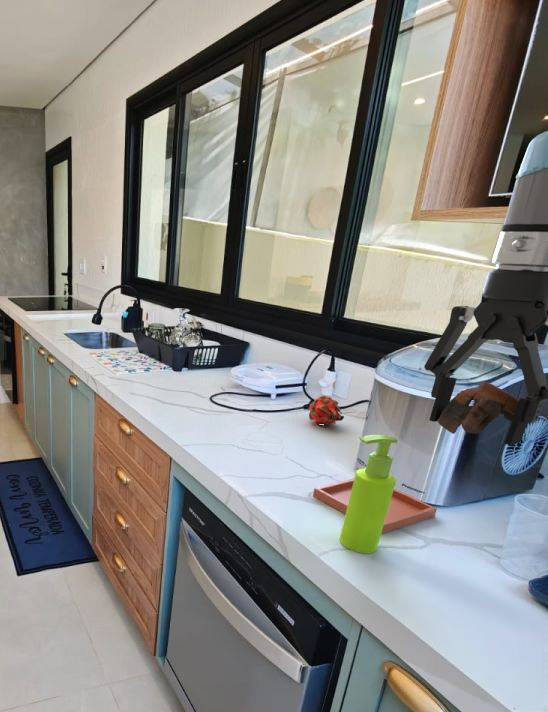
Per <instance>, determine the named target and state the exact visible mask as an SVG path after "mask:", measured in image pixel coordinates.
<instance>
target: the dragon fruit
mask: <svg viewBox="0 0 548 712" xmlns="http://www.w3.org/2000/svg"><path fill="white" fill-rule="evenodd" d="M308 410H309V413H308V418H309V420H310V421H314V422H315V423H316V424H317V425H318V424H325V425H326V424H327V425H331V426H332V425H334V424H336V423H337V422H340V421H343V420H344V418H345V416H344V415H342V414H343V412H342V411H341V407H340V406H339V402H338V401H337V400H335V399H333V398H332V397H331V396H328V395H327V396H326V395H320V396H319V397H317V398H315V399H314V400H313V401H312V402H311V403H310V404H309V407H308ZM325 425H322V426H321V427H323V426H325Z"/></svg>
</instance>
